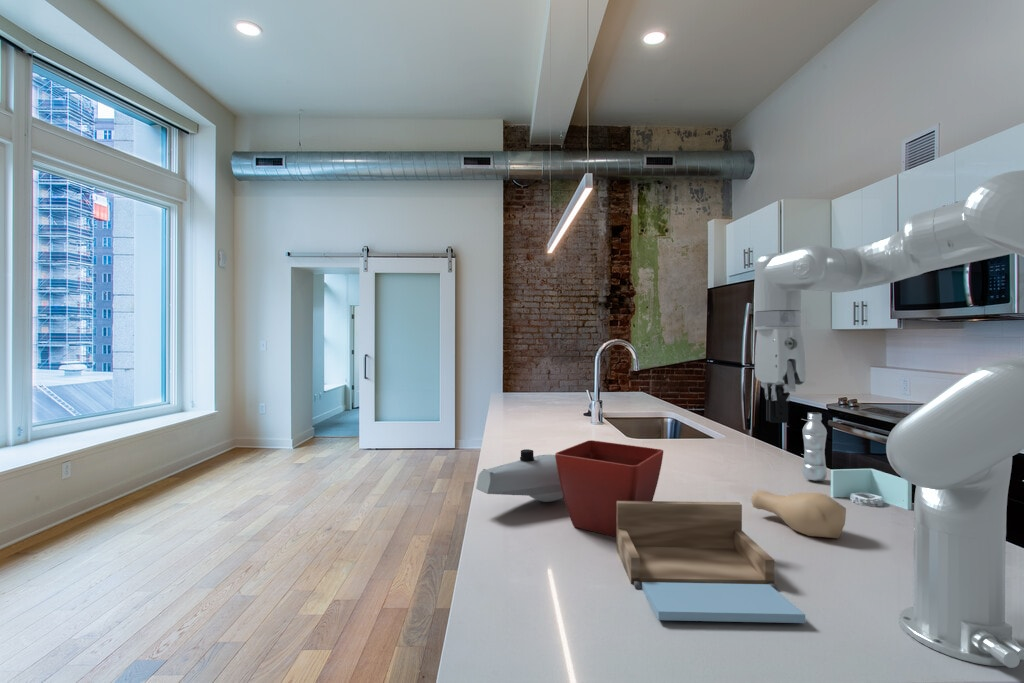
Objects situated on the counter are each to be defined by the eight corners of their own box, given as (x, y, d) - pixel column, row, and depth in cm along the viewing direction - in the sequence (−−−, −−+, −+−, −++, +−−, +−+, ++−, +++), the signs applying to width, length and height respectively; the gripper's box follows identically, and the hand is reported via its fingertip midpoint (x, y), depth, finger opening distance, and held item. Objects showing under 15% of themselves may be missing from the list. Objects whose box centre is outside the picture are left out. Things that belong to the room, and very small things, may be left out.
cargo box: (779, 594, 83) (779, 534, 83) (633, 592, 84) (633, 532, 84) (738, 552, 99) (738, 502, 99) (616, 550, 100) (616, 500, 100)
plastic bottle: (805, 482, 148) (805, 414, 148) (799, 476, 155) (799, 411, 155) (830, 484, 146) (830, 415, 146) (823, 477, 153) (823, 412, 153)
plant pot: (664, 520, 117) (665, 448, 117) (636, 549, 101) (636, 465, 101) (589, 505, 127) (589, 439, 127) (552, 529, 111) (553, 453, 111)
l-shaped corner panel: (830, 497, 135) (830, 469, 135) (871, 496, 136) (871, 468, 136) (866, 513, 123) (867, 482, 123) (911, 511, 124) (911, 481, 124)
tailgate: (769, 591, 83) (805, 623, 72) (641, 589, 84) (658, 620, 73) (769, 584, 83) (805, 614, 72) (641, 582, 84) (658, 611, 73)
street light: (555, 486, 143) (555, 438, 143) (594, 501, 131) (594, 447, 131) (464, 508, 125) (464, 452, 125) (500, 527, 113) (500, 465, 113)
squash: (828, 549, 101) (828, 504, 101) (740, 518, 118) (740, 480, 118) (857, 539, 106) (857, 496, 106) (768, 510, 124) (768, 474, 124)
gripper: (822, 320, 84) (821, 429, 84) (778, 323, 99) (777, 415, 99) (776, 320, 85) (776, 429, 85) (739, 323, 99) (739, 415, 100)
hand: (777, 421), depth 92 cm, fingers closed
